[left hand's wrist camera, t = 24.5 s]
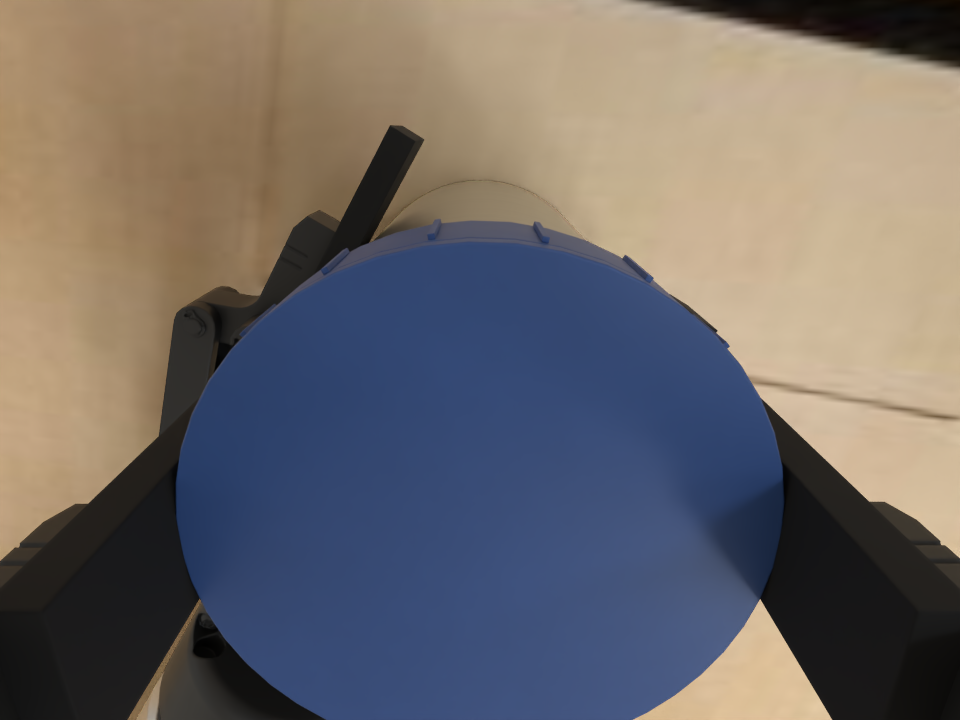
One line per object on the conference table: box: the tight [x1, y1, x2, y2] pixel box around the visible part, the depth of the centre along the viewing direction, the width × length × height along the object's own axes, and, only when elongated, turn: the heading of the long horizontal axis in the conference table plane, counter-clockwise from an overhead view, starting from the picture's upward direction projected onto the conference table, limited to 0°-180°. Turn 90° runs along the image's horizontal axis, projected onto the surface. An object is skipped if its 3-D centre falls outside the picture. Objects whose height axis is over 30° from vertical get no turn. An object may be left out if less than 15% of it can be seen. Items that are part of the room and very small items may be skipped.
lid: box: [176, 219, 784, 720], centre depth 11 cm, size 10×10×2 cm
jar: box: [374, 180, 586, 241], centre depth 18 cm, size 9×9×15 cm
